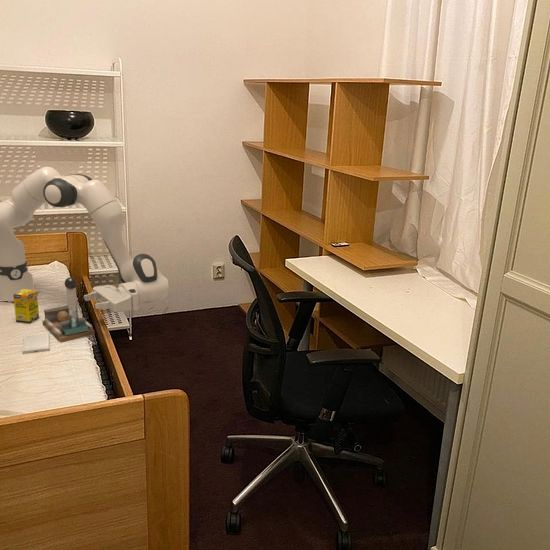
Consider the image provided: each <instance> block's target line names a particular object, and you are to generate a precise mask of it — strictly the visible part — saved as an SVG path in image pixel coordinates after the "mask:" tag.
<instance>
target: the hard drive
mask: <svg viewBox="0 0 550 550" xmlns="http://www.w3.org/2000/svg"><path fill="white" fill-rule="evenodd" d="M50 343H51V342H50V334H49V333H41V334H34V335H24V336H23V341H22V355H27V354H35V353H37V354H38V353H45V352H50V351H51V350H50V348H51V347H50V346H51V345H50Z"/></svg>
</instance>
